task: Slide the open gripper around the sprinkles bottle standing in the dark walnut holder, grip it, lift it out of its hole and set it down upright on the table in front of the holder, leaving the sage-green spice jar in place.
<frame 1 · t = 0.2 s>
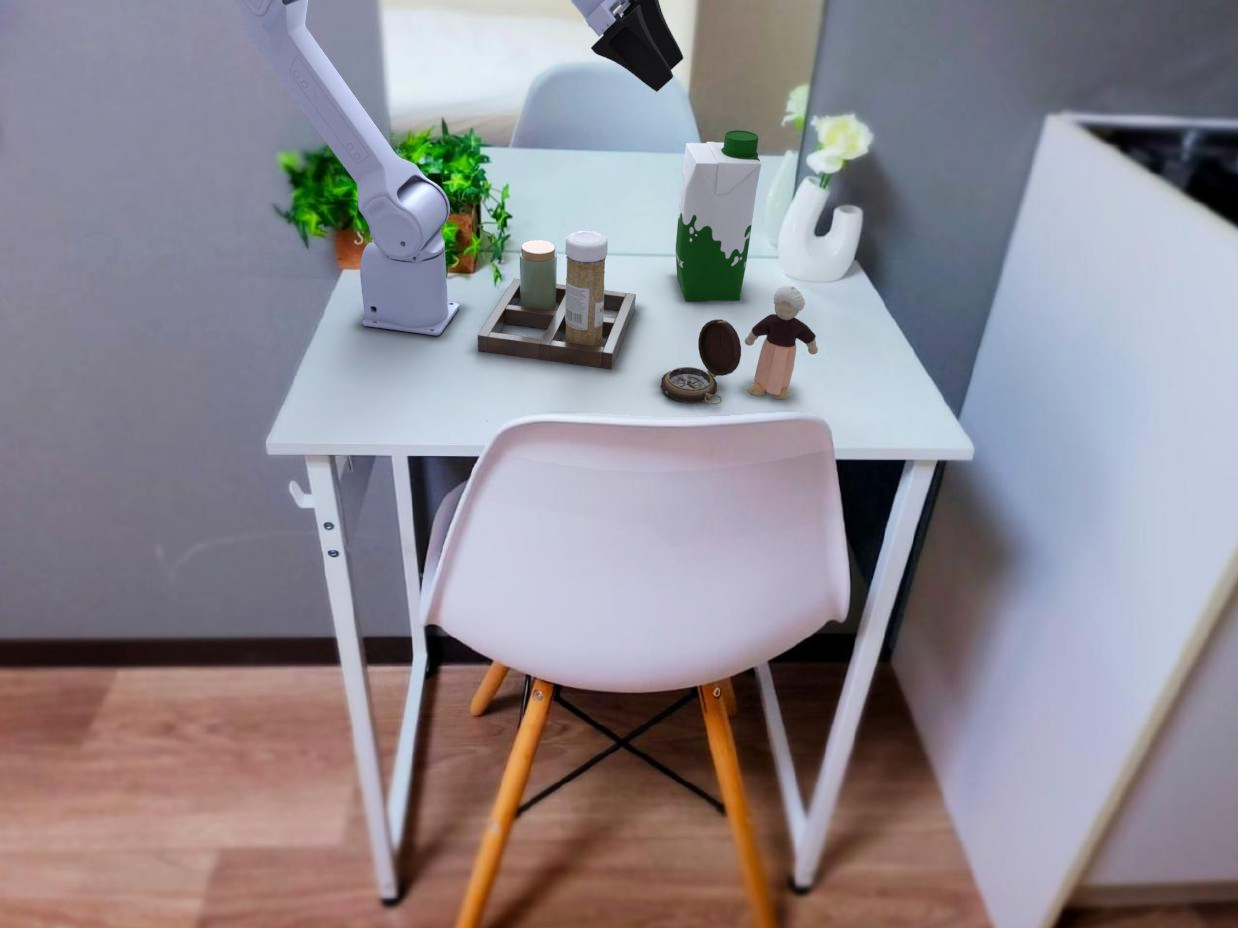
hand: (670, 74, 97), 31 cm above the table, tool tilted 45°, fingers open, 7 cm apart
spice jar: (538, 311, 121), resting in holder
holder: (560, 328, 118), on the table
sprinkles bottle: (583, 348, 114), resting in holder
compass: (699, 393, 108), on the table
grandmother figurine: (773, 393, 108), on the table
milk carton: (706, 290, 129), on the table
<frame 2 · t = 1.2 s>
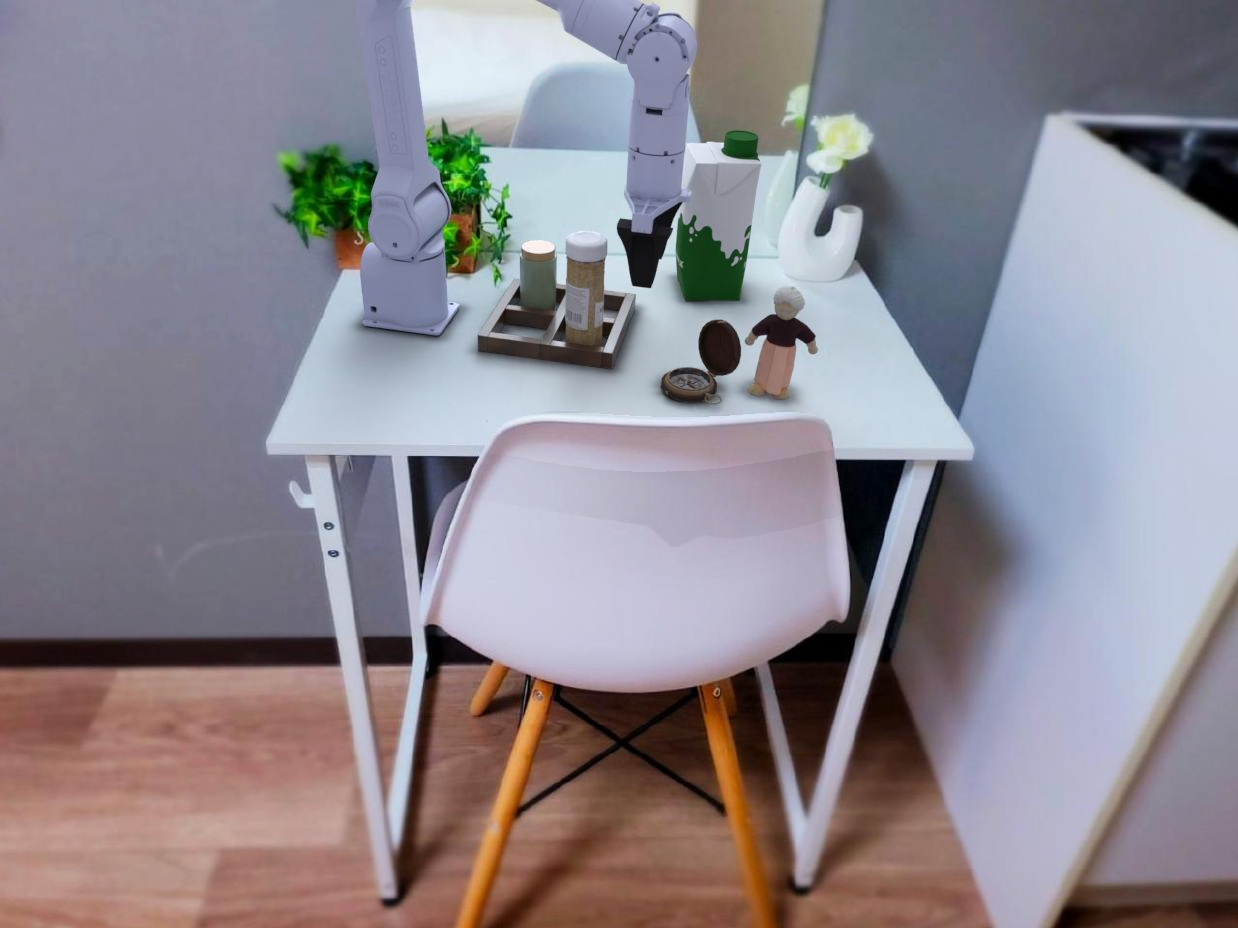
hand: (647, 271, 107), 10 cm above the table, tool pointing down, fingers open, 7 cm apart
nothing on the table moved.
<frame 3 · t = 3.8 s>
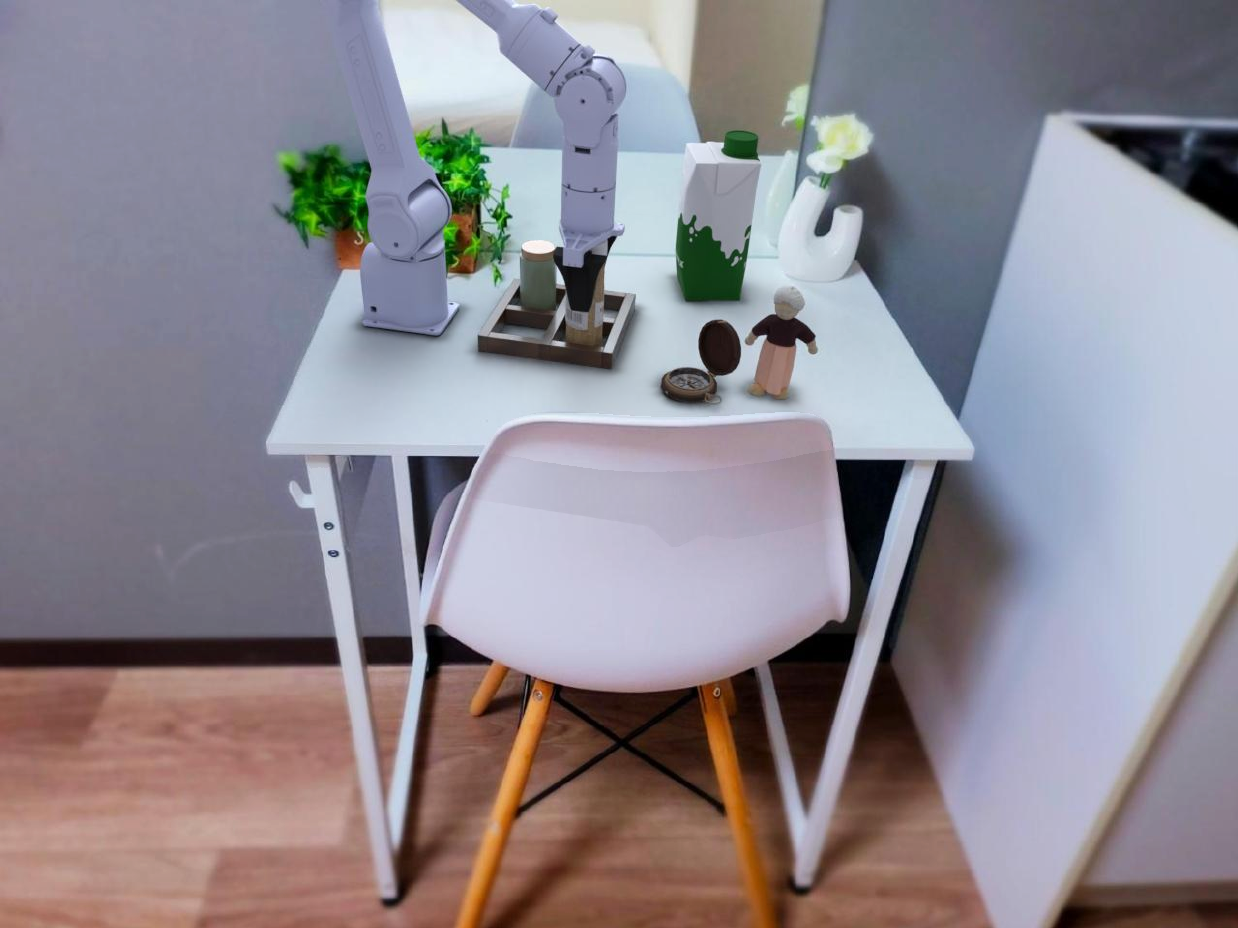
hand: (584, 300, 111), 6 cm above the table, tool pointing down, fingers closed on sprinkles bottle, 4 cm apart
sprinkles bottle: (583, 348, 114), resting in holder, touching gripper
everything else where it was.
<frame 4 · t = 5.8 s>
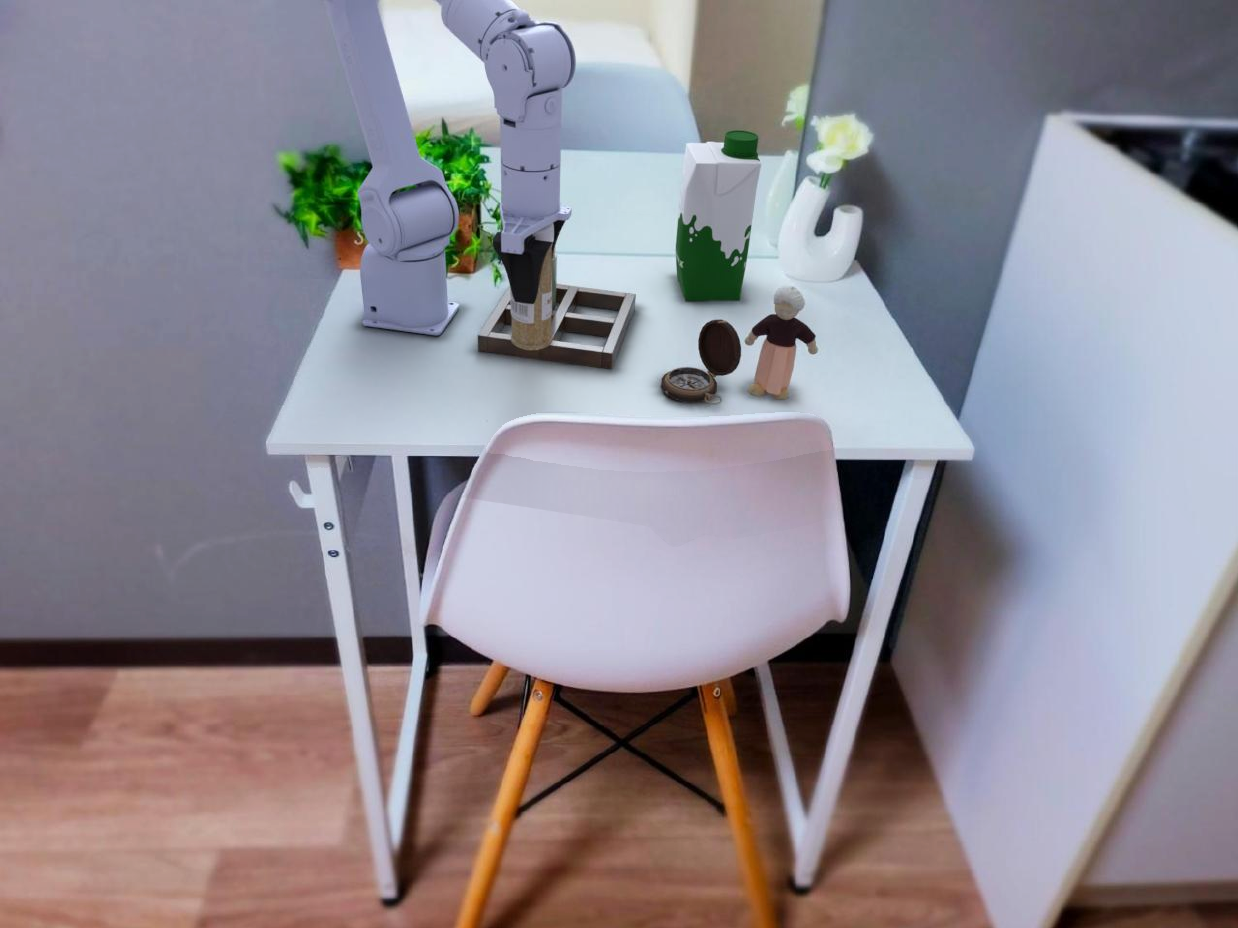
hand: (530, 291, 102), 10 cm above the table, tool pointing down, fingers closed on sprinkles bottle, 4 cm apart
sprinkles bottle: (531, 343, 106), point 4 cm above the table, touching gripper
everything else where it was.
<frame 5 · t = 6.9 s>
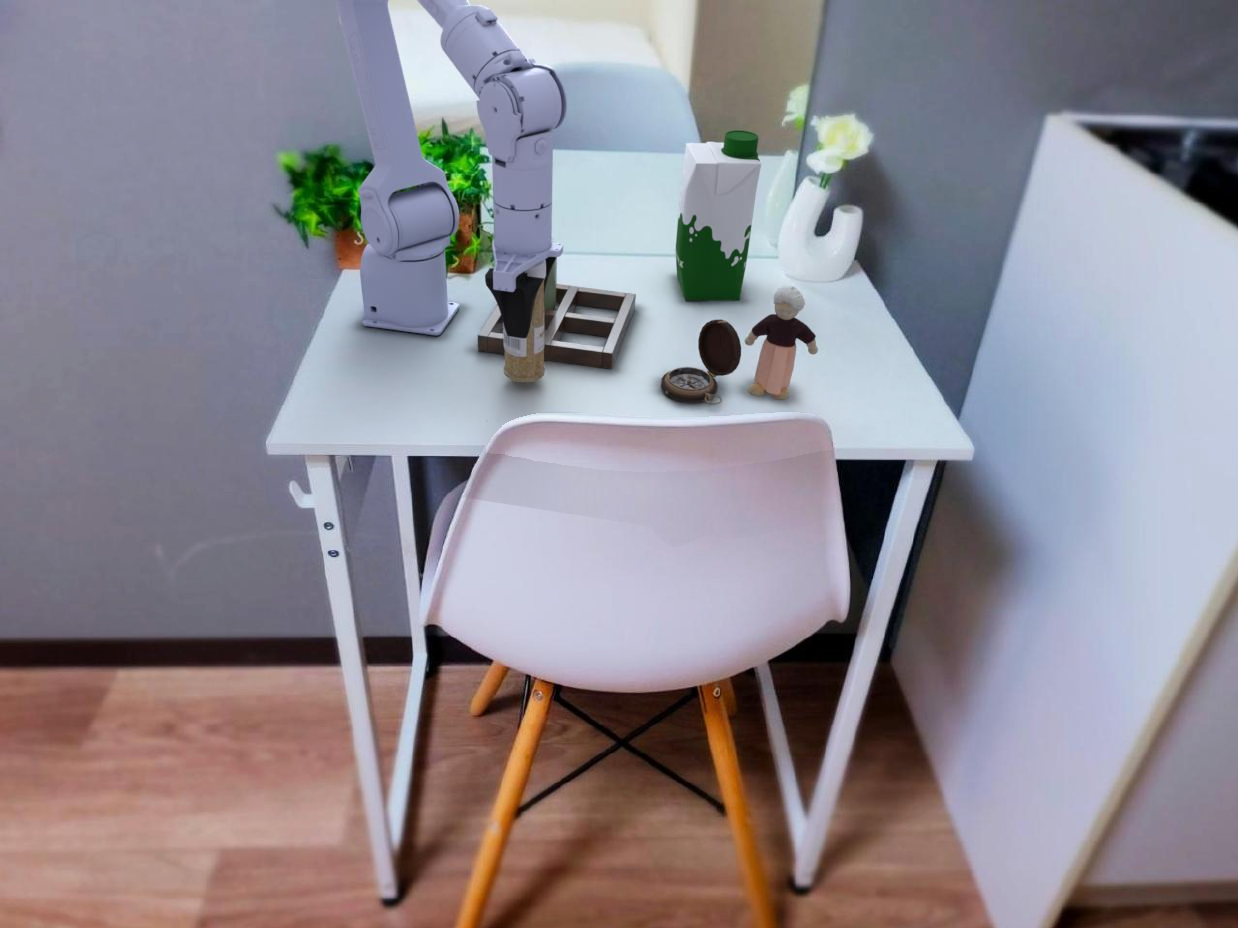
hand: (523, 325, 103), 7 cm above the table, tool pointing down, fingers closed on sprinkles bottle, 4 cm apart
sprinkles bottle: (524, 375, 107), point 1 cm above the table, touching gripper
everything else where it was.
when the fingers open (6 cm above the table, at t = 7.7 s): sprinkles bottle stays where it is, on the table.
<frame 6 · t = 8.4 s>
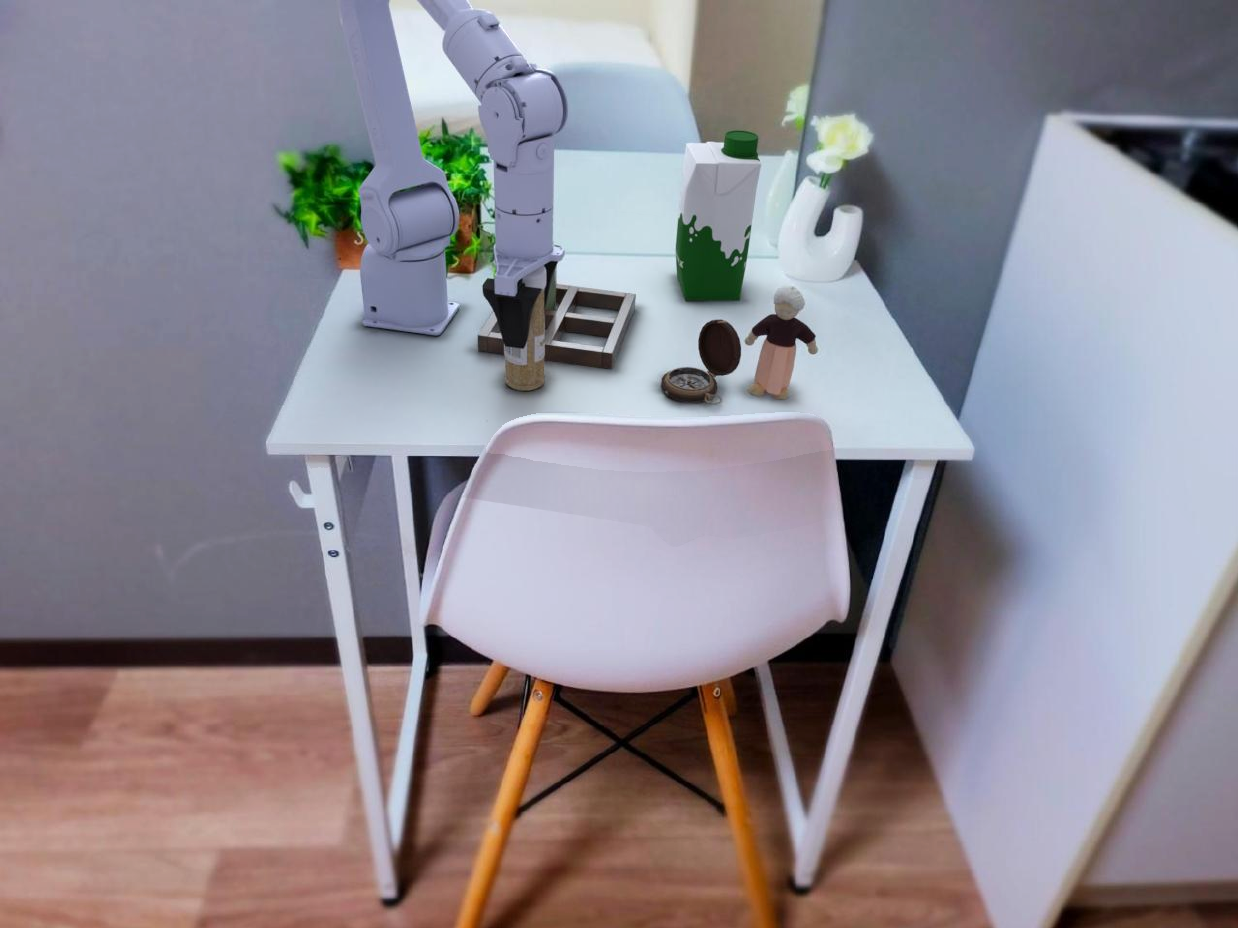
hand: (524, 329, 104), 6 cm above the table, tool pointing down, fingers open, 7 cm apart
sprinkles bottle: (524, 383, 107), on the table
everything else where it was.
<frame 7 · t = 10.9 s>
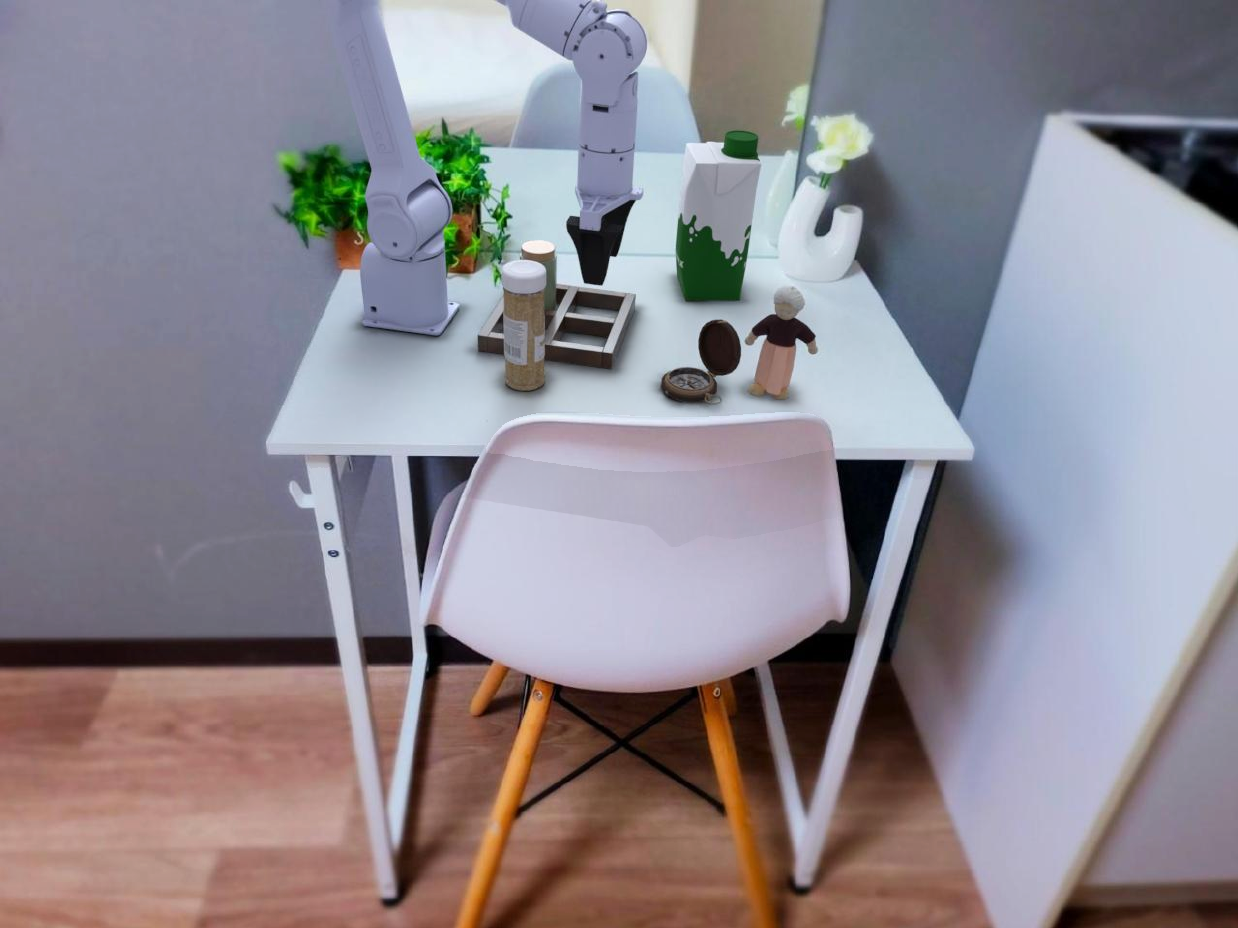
hand: (601, 268, 108), 10 cm above the table, tool pointing down, fingers open, 7 cm apart
nothing on the table moved.
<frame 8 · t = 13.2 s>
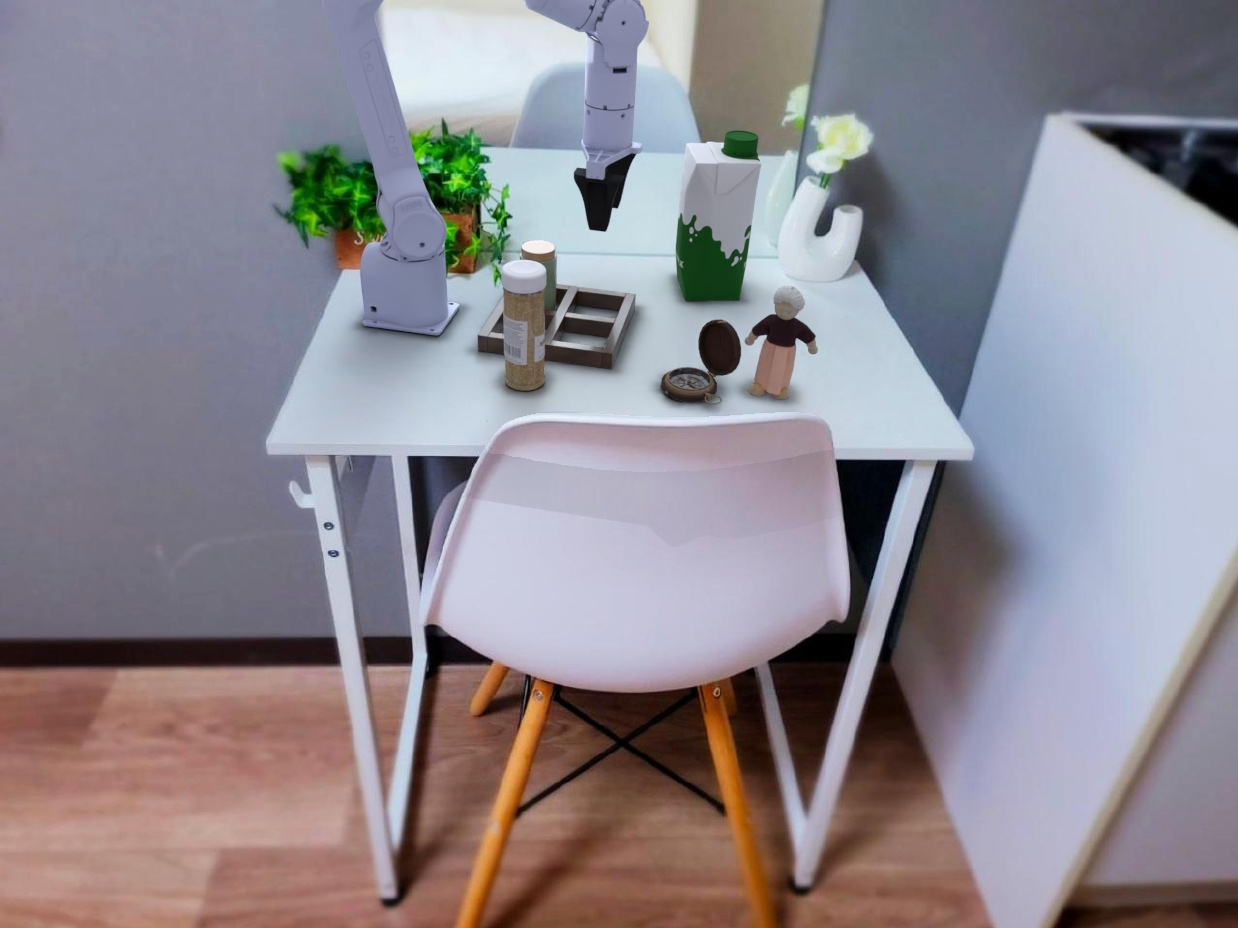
hand: (604, 218, 119), 10 cm above the table, tool pointing down, fingers open, 7 cm apart
nothing on the table moved.
at the end: sprinkles bottle inside the target area (0.1 cm from its centre), on the table; sprinkles bottle tilted 0°; the gripper is holding nothing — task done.
